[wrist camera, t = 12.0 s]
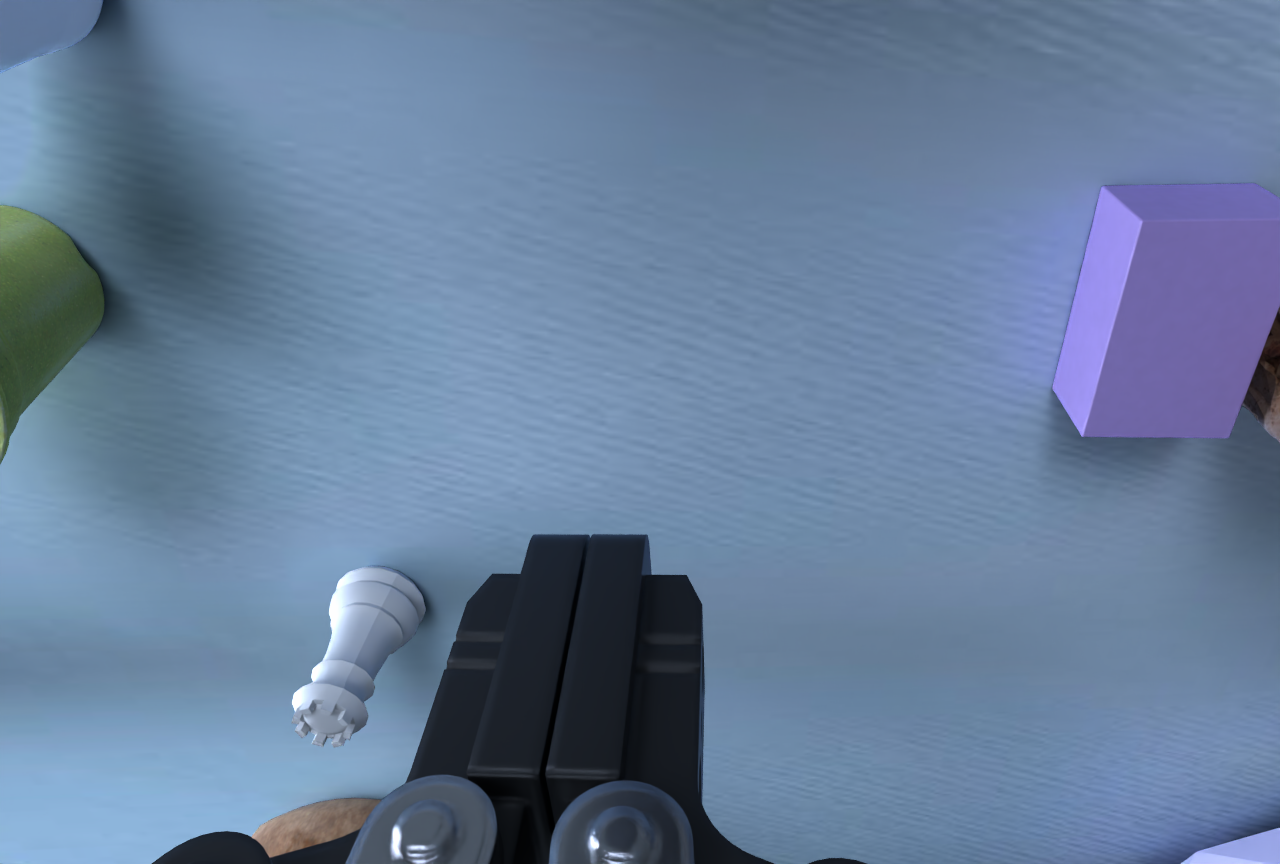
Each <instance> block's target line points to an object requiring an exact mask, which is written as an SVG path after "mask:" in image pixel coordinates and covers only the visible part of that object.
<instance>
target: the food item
mask: <svg viewBox="0 0 1280 864" xmlns="http://www.w3.org/2000/svg"><path fill="white" fill-rule="evenodd" d="M1242 406H1243V407H1245V408H1246V409H1248V410H1249V411H1250V412H1251V413H1252V414H1253V415H1254V416H1255V418H1256V420H1257V421H1258V422H1259V423H1260V424H1261V425H1262V426H1263V428H1264V429H1265V430H1266V431H1267V432H1268V433H1269V434H1270V435H1271V436H1272V437H1274V438H1275V439H1277V440H1278V441H1279V442H1280V307H1279V309H1278V312H1277V314H1276V317H1275V320H1274V322H1273V325H1272V328H1271V330H1270V333H1269V335H1268V338H1267V341H1266V343H1265V346H1264V348H1263V351H1262V354H1261V356H1260V359H1259V361H1258V364H1257V367H1256V369H1255V372H1254V374H1253V377H1252V380H1251V382H1250V385H1249V388H1248V390H1247V393H1246V395H1245V398H1244V401H1243V403H1242Z"/></svg>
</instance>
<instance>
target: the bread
mask: <svg viewBox="0 0 1280 864" xmlns="http://www.w3.org/2000/svg"><path fill="white" fill-rule="evenodd" d="M380 801H381V800H378V799H364V798H345V799H334V800H328V801H322V802H317V803H313V804H310V805H306V806H303V807H300V808H297V809H295V810H292V811H290V812H287V813H285V814H282V815H280V816H278V817H275V818H273V819H271V820H269V821H268V822H266V823H264V824H262V825H260V826H259V828H258V829H257V830H256V832H255V833H254V834H253V836H252V838H253V839H255V840H257V841H258V842H259V843H260V844H261V845H262V846H263V847H264V849H265V851H266V852H267V854H268V856H269V858H270V857H274V856H277V855H281V854H285V853H288V852H292V851H295V850H299V849H303V848H306V847H310V846H313V845H317V844H321V843H324V842H328V841H331V840H334V839H337V838H340V837H343V836H346V835H348V834H350V833H352V832H354V831H356V830H358V829H360V828H361V827H362V826H363V824H364V822H365V820H366V819H367V817H368V816H369V814H370V813H371V812H372V810H373V809H374V808H375V807H376V806H377V805H378V804H379V802H380Z"/></svg>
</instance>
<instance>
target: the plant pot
mask: <svg viewBox="0 0 1280 864" xmlns="http://www.w3.org/2000/svg"><path fill="white" fill-rule="evenodd" d="M103 314H104V294H103V289H102V285H101V282H100V279H99V277H98V274H97V273H96V271H95V270H93V269H92V268H91V267H90V266H89V265H88V264H87V263H86V261H85V260H84V259H83V258H82V256H81V255H80V253H79V252H78V250H77V249H76V247H75V245H74V243H73V241H72V239H71V238H70V237H69V236H68V235H67V234H66V233H65V232H64V231H62V230H61V229H60V228H58V227H57V226H55V225H54V224H52V223H51V222H49V221H48V220H46V219H44V218H42V217H40V216H39V215H36V214H34V213H32V212H29V211H26V210H23V209H20V208H16V207H11V206H4V205H0V464H1V462H2V460H3V458H4V456H5V454H6V451H7V448H8V445H9V438H10V436H11V434H12V433H13V431H14V429H15V427H16V425H17V423H18V421H19V417H20V415H21V414H22V413H23V412H24V411H25V410H26V408H27V407H28V406H29V405H30V404H31V403H32V402H33V401H34V400H35V398H36V397H37V396H38V395H39V394H40V393H41V392H42V391H43V390H44V388H45V387H46V386H47V385H48V384H49V383H50V382H51V381H52V380H53V379H54V378H55V376H56V375H57V374H58V373H59V372H60V371H61V370H62V369H63V368H64V366H65V365H66V364H67V363H68V362H69V361H70V360H71V359H72V358H73V356H74V355H75V354H76V353H77V352H78V351H79V350H80V349H81V348H82V347H83V345H84V344H85V343H86V342H87V341H88V340H89V339H90V338H91V337H92V336H93V334H94V333H95V332H96V331H97V329H98V327H99V325H100V323H101V321H102V318H103Z"/></svg>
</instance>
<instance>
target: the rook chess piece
mask: <svg viewBox="0 0 1280 864" xmlns="http://www.w3.org/2000/svg"><path fill="white" fill-rule="evenodd" d="M425 610H426V608H425V604H424V600H423V596H422V594H421V592H420V591H419V589H418V588H417V587H416V585H415V584H414V583H413V581H412V580H411V579H410V578H408V577H407V576H405V575H404V574H402V573H401V572H399V571H397V570H394V569H391V568H387V567H384V566H366V567H363V568H360V569H357V570H354V571H351V572H348V573H347V574H346V575H345V576H344V577H343V578H341V579H340V580H339V581H338V585H337V589H336V592H335V593H334V594H333V596H332V600H331V605H330V611H329V614H330V617H331V624H330V626H331V629H332V637H331V640H330V643H329V646H328V650H327V653H326V655H325V657H324V659H323V661H322V662H321V663H319V664H318V665H317V666H316V667H315V668H313V672H312V676H311V677H312V680H313V682H312V683H310V684H308V685H305V686H303V687H301V688H300V689H299V690H298V691H297V692H296V693H295V694H294V697H293V702H292V704H293V707H294V710H295V714H294V716H293V720H292V723H293V724H298V725H297V727H296V729H295V732H296V733H297V734H298V735H299V736H300V737H301V738H303V737H305V736H306V735H307V733H308V731H310V732H312V733H313V734H315V735H316V736H315V738H314V740H313V742H312V744H314V745H317V746H321V747H323V746H324V744H325V742H326V739H327V738H333V741H332V745H333V747H334V748H335V747H338V746H342V745H344V743H345V740H346V739H348V740H350V738H351V736H352V734H353V733H355V732H358V731H359V730H360V729H361V728H363V727H364V726H365V725H366V722H367V719H368V713H367V710H366V707H365V704H364V701H366V700H367V699H369V698H370V697H371V696H372V695H373V692H374V689H375V686H374V683H373V681H374V679H375V677H376V675H377V673H378V672H379V670H380V668H381V667H382V665H383V664H384V662H385V660H386V659H387V657H388V656H389V655H390V654H393V653H394V652H395V651H396V650H397V649H398V648H399V647H402V646H403V645H404V644H405V643H406V642H408V641H409V640H410V639H411V638H412V637H413V636H414V635H415V634H416V630H417V627H418V624H419V623H420V622H422V620H423V616H424V613H425Z"/></svg>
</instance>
